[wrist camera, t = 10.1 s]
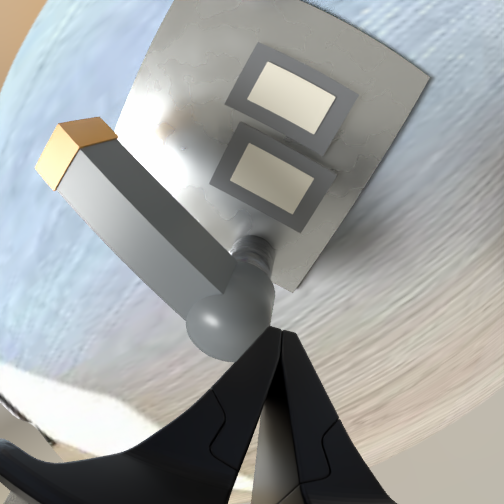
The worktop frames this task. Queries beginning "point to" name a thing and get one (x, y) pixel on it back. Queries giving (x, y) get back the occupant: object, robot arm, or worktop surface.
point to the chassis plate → (227, 119)
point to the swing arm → (158, 238)
